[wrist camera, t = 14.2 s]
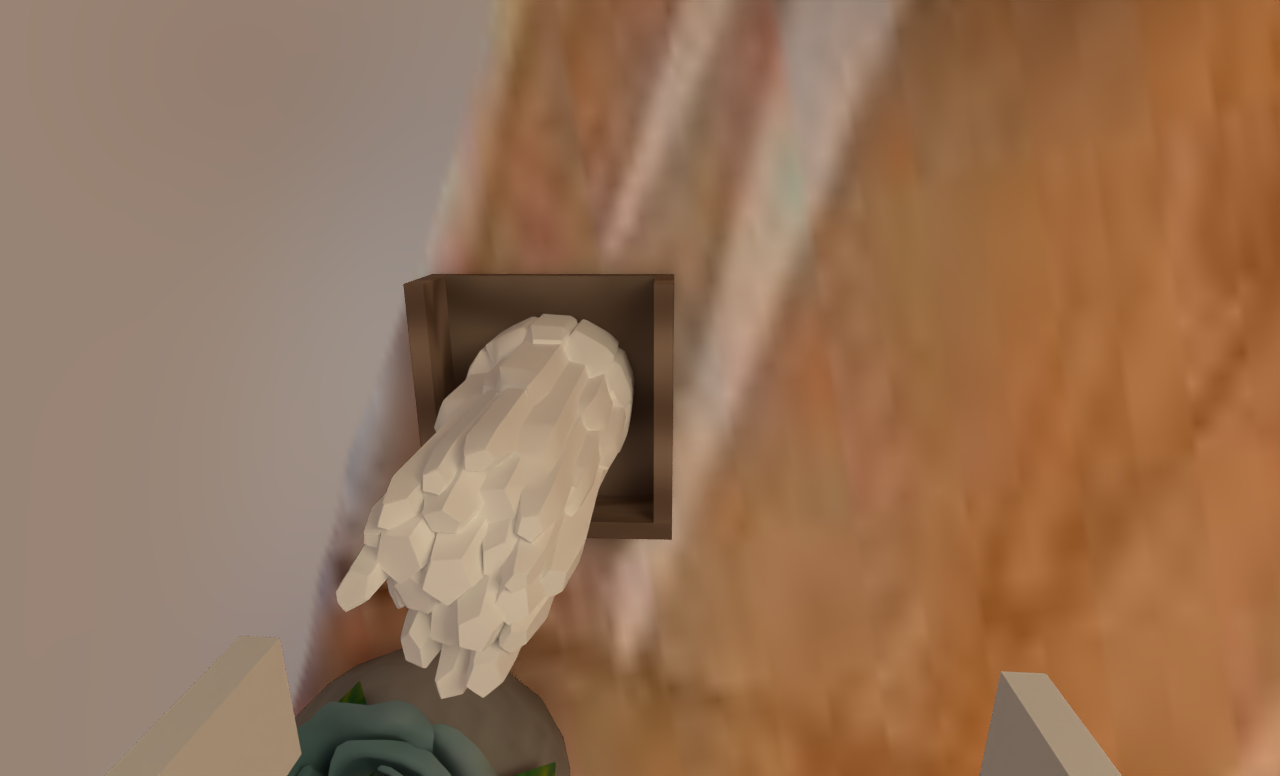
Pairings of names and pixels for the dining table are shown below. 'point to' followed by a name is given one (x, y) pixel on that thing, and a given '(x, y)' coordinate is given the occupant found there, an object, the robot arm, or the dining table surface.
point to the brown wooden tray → (618, 303)
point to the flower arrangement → (425, 727)
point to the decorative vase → (498, 499)
